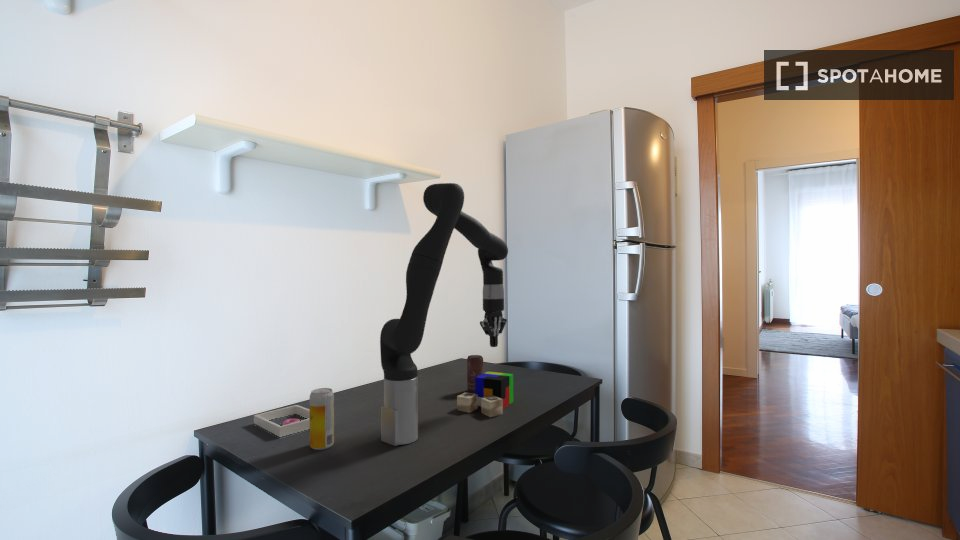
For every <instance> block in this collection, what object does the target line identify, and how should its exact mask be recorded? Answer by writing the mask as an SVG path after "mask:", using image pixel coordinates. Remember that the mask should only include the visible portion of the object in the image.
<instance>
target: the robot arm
mask: <svg viewBox="0 0 960 540" xmlns="http://www.w3.org/2000/svg"><path fill="white" fill-rule="evenodd" d="M422 197H423V198H422V200H423V204H424V206H425V208H426V210H427V211H429V212H430V213H431V214H433V215H434V216H435V218H436V219H435V220H434V223H433V225H432V226H431V227H430V228H429V230H428V231H427V233H426V234H425V235H423V237H422V238H421V239H420V240H419V241H418V242H417V244H416V245H415V246H414V247H413V249H412V252H411V255H410V258H409V261H408V264H407V267H406V271H405V285H406V286H405V287H406V288H405V289H406V297H405V304H404V306H403V309H402V312H401V315H400V318H391V319H390V320H388V321H386V322H385V324H383V326H382V329H381V330H380V336H379V348H380V365H381V368H382V371H383V405H382V406H381V407H380V428H381V429H380V434H381V435H380V439H381V442H384V443H386V444H388V445H391V446H393V447H397V446H400V445H408V444H411V443H414V442H416V441H417V440H418V439H419V435H418V434H419V416H418V415H419V410H418V409H419V408H418V407H419V405H418V404H419V403H418V402H419V401H418V396H419V395H418V393H419V392H418V390H419V388H418V387H419V385H418V384H419V383H418V381H419V380H418V378H419V377H418V376H419V375H418V372H419V371H418V367H417V365H416V363H415V362H414V361H413V358H412V354H413V353H414V352H416V351H417V349H418V348H419V347H420V345H421V344H422V340H423V337H424V332H425V327H426V322H427V317H428V312H429V308H430V305H431V301H432V298H433V295H434V292H435V287H436V284H437V281H438V279H439V276H440V272H441V269H442V266H443V262H444V260H445V259H444V258H445V255H446V253H447V249H448V246H449V243H450V240H451V237H452V234H453V232H454V230H456V231H457V232H459V234H461V235H462V236H463V237H464V238H465V239H466V240H467V241H468V242H469V243H470V244H471V245H472V246H473V247H475V248H477V255H478V259H479V263H480V266H481V270H482V279H483V281H482V283H483V284H482V311H483V312H484V315H483V316H484V317H483V320H482V321H480V322H479V325H480V327H481V329H482V330H483V332H484V333H485V335H486V336H489V347H491V348H497V347H498V344H499V337H498V336H499V335H501V334H502V333H503V332H504V331H503V330H504V329H505V326H506V323H507V322H508V320H507V318H504V317H503V311H504V310H505V288H504V271H503V269H502V268H501V267H497V266H494V264H493V262H494V261H502V260H503V261H504V259H506V258H507V256H508V254H509V249H508V246H507V243H506V242H505V240H504V239H502V238H500V237H499V236H497V235H495V234H493V233H492V232H490V231H489V230H488V228H486V226H484V225H483V223H481V222H480V221H479V220H477V218H475V217H473V216H471V215H469V214H467V213H466V212H464V211H462V210H463V208H464V207H463V206H464V203H465V192H464V189H463V187H462V186H461V184H459V183H454V182H453V183H452V182H450V183H449V182H447V183H443V182H442V183H440V182H439V183H433V184H430V185H428V186H427V187H426V188H425V189H424V191H423V196H422Z"/></svg>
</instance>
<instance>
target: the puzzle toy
mask: <svg viewBox="0 0 960 540" xmlns="http://www.w3.org/2000/svg"><path fill="white" fill-rule="evenodd" d="M475 394H477V397H478V407H481V398H485V397H490V396H495V397H498V398H501V399H503V409H505V408H506V407H508V406H509V405H511V404H513V403H514V373H508V372H507V373H504V372H495V371H485V372H483V374H481V375H479V376H477V377H475Z"/></svg>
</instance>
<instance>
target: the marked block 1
mask: <svg viewBox="0 0 960 540" xmlns="http://www.w3.org/2000/svg"><path fill="white" fill-rule="evenodd" d="M478 407H479V406H478V397H477V394H473V393H469V392H463V393H461V394H459V395H457V396H456V410H457V411H458V412H459V411H460V412H465V413H472V412H474V411H476V410H478V409H479V408H478Z"/></svg>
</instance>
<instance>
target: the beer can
mask: <svg viewBox="0 0 960 540" xmlns="http://www.w3.org/2000/svg"><path fill="white" fill-rule="evenodd" d="M334 393H335V392H333V389H332V388H329V387H322V388H317V389H316V388H315V389H312V390H311V392H310V394H309V409H310V430H309V447H310V448H311V449H312V450H314V451H324V450H327V449H329V448H331V447H332V446H333V445H334V444H335V395H334Z"/></svg>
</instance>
